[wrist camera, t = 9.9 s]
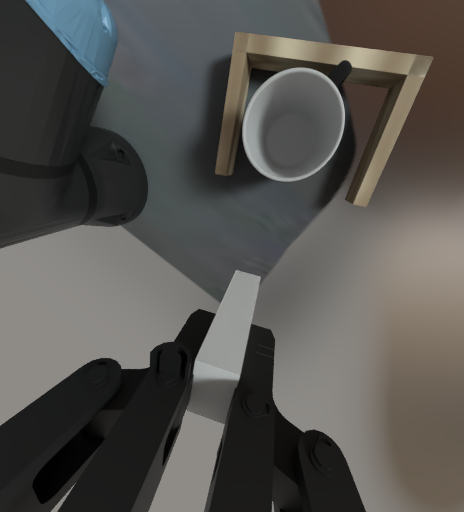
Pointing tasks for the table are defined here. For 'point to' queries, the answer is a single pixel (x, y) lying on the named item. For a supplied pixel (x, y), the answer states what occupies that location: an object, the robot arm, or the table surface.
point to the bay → (325, 60)
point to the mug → (295, 122)
